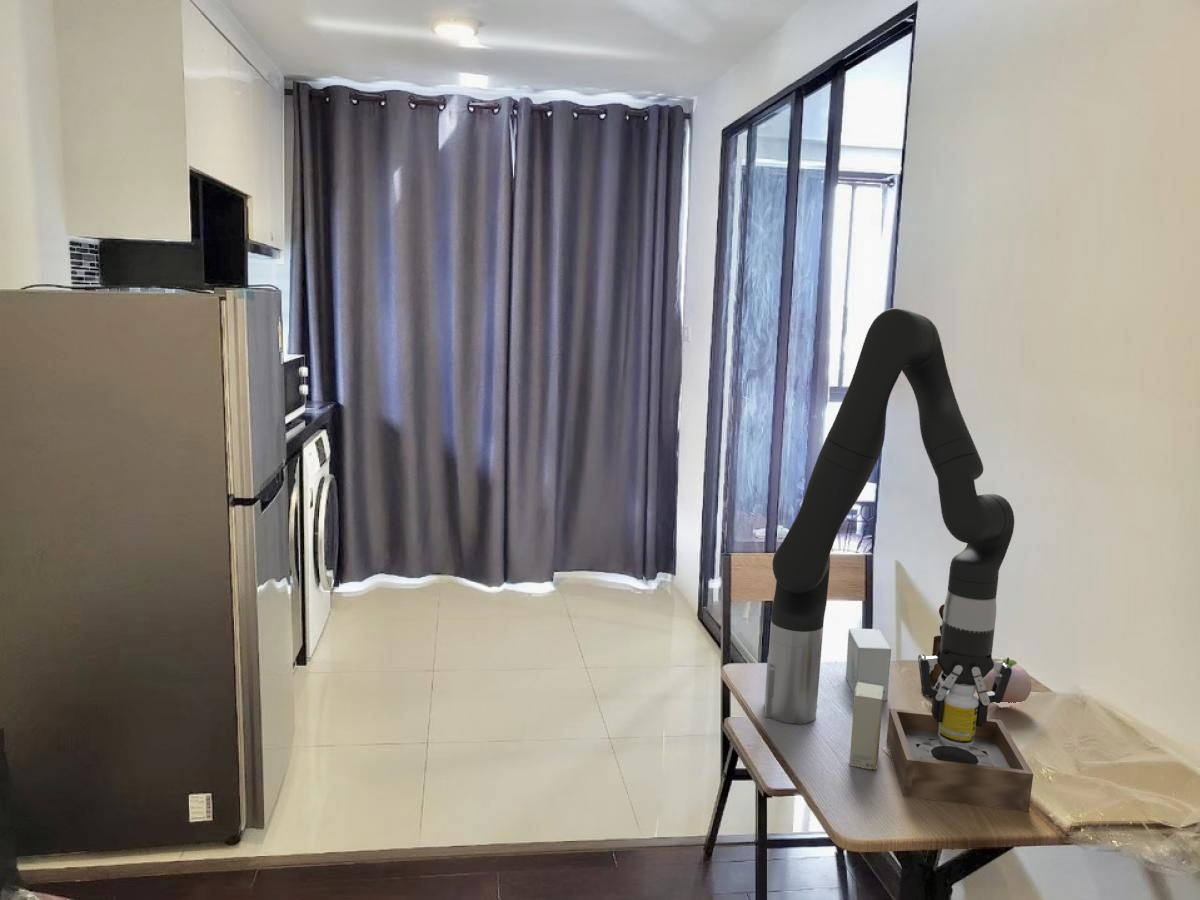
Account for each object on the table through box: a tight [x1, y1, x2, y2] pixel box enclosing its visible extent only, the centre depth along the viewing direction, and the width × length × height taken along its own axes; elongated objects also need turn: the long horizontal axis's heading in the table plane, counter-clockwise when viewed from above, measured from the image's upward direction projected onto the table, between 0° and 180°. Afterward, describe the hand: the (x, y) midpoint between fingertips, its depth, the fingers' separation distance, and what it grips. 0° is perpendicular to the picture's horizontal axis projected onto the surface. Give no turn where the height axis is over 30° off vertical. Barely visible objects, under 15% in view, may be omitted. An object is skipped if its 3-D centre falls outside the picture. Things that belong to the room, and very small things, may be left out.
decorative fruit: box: [983, 657, 1032, 703], centre depth 168 cm, size 9×8×10 cm
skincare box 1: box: [845, 627, 892, 701], centre depth 175 cm, size 10×6×10 cm, turn 175°
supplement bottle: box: [938, 683, 979, 746], centre depth 142 cm, size 5×5×10 cm
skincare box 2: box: [849, 682, 884, 771], centre depth 146 cm, size 6×4×12 cm
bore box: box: [886, 708, 1034, 812], centre depth 143 cm, size 18×18×6 cm
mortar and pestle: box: [920, 603, 945, 694], centre depth 173 cm, size 7×6×18 cm
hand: (958, 721), depth 143 cm, fingers closed on supplement bottle, 5 cm apart
